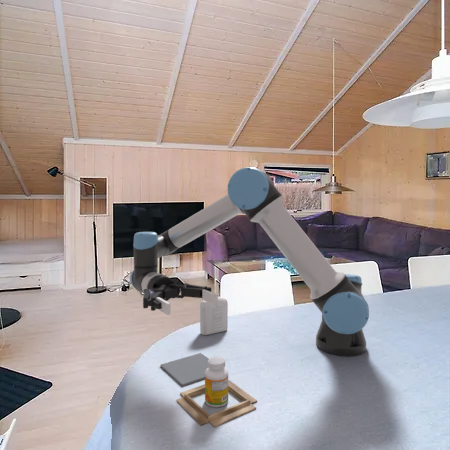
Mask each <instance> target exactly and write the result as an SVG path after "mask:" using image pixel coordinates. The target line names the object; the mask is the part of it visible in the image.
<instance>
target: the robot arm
mask: <svg viewBox="0 0 450 450" xmlns="http://www.w3.org/2000/svg"><path fill="white" fill-rule="evenodd" d="M283 200H284V196H283V194H282V193H281V192H280V190H278V188H277V187H276V186H275V183H274V181H273V178H272V177H271V176H270V175H269V174H268V173H267V172H264V171H262V170H261V169H260V168H258V167H254V166H247V167H243V168H240V169H238V170H236V171H235V172H234V173H233V174H232V175H231V176H230V179H229V180H228V183H227V194H226V195H225V196H223V197H221V198H220V199H217V200H216V201H214V202H212V203H211V204H209V205H208V206H206V207H204V208H203V209H201V210H199V211H198V212H196V213H194V214H192V215H191V216H189V217H188V218H186V219H184V220H182V221H181V222H179V223H178V224H176V225H174V226H172V227H171V228H169V229H167V230H166V231H163V232H162V233H160V234H158V233H157V232H155V231H139V232H136V233H134V236H133V243H132V245H133V270H132V271H131V274H130V276H129V282H130V284H131V285H132V287H133V288H135V290H137V291H138V292H141V293H143V297H142V306H143V309H148V308H149V307H150V311H152V312H154V311H156V310H159V311H160V312H162V313H164V314H165V315H167V316H169V315H171V302H169V300H170V299H183V298H185V297H186V298H195V299H202V301H204V300H205V301H207V302H209V303H211V304H213V305H218V297H219V294H217V293H214V292H212V287H211V286H209V287H208V286H207V285H205V286H202V285H196V284H190V283H186V282H185V283H183V284H182V285H181V284H177V283H175V282H174V280H173V279H172V278H170V277H169V276H166V275H164V274H162V273H160V272H159V270H158V269H159V258H160V259H161V258H162V257H165V256H169V255H171V254H173V253H175V252H176V251H177V250H178V249H180V248H183V246H186V245H187V244H189V243H191V242H192V241H195V240H196V239H197V238H200V237H201V236H203V235H205V234H206V233H208V232H210V231H211V230H213V229H215V228H217V227H219V226H220V225H222V224H224V223H225V222H228V221H229V220H231V219H232V218H234V217H235V218H236V216H238V215H240V214H241V215H245V216H246V217H247V219H248V220H249V221H250V222H251V223H256V224H257V223H258V224H259V225H260V226H261V228H262V229H263V230H264V231H265V233H266V234H267V236H269V238H270V240H272V242H273V243H274V245H275V246H276V247H277V248H278V250H279V251H280V252H281V253H282V254H283V256H284V258H285V259H286V260H287V261H288V262H289V265H291V266H292V268H293V269H294V270H295V271H296V273H297V274H298V276H300V278H301V279H302V281H303V282H304V284H306V286H307V287H308V288H309V289H310V297H309V298H310V299H311V301H312V302H313V304H314V305H315V306H316V307H317V310H319V312H320V313H321V321H320V325H319V326H318V330H317V332H316V336H315V337H316V338H315V345H316V346H317V348H319V349H320V350H322V351H324V352H326V353H329V354H332V355H337V356H344V357H352V356H359V355H362V354H365V352H366V351H367V340H366V338H365V337H366V336H365V333H364V330H363V329H364V328H365V327H366V325H367V323H368V321H369V318H370V309H369V304H368V302H367V301H366V300H365V297H364V295H363V293H362V286H363V282H362V280H363V279H362V277H361V276H360V275H357V274H351V273H350V274H349V273H348V274H347V273H344V272H339V271H336V270H335V268H334V267H333V266H332V265H331V264H330V263H329V261H328V260H327V258H326V257H325V256H324V255H323V254H322V253H321V251H320V250H319V249H318V247H317V246H316V245H315V244H314V242H313V241H312V240H311V238H310V237H309V236H308V235H307V234H306V232H305V231H304V230H303V229H302V227H301V226H300V225H299V223H298V222H297V221H296V220H295V219H294V217H293V216H292V215H291V213H290V212H289V211H288V209H287V208H286V207H285V206H284V205H283Z"/></svg>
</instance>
